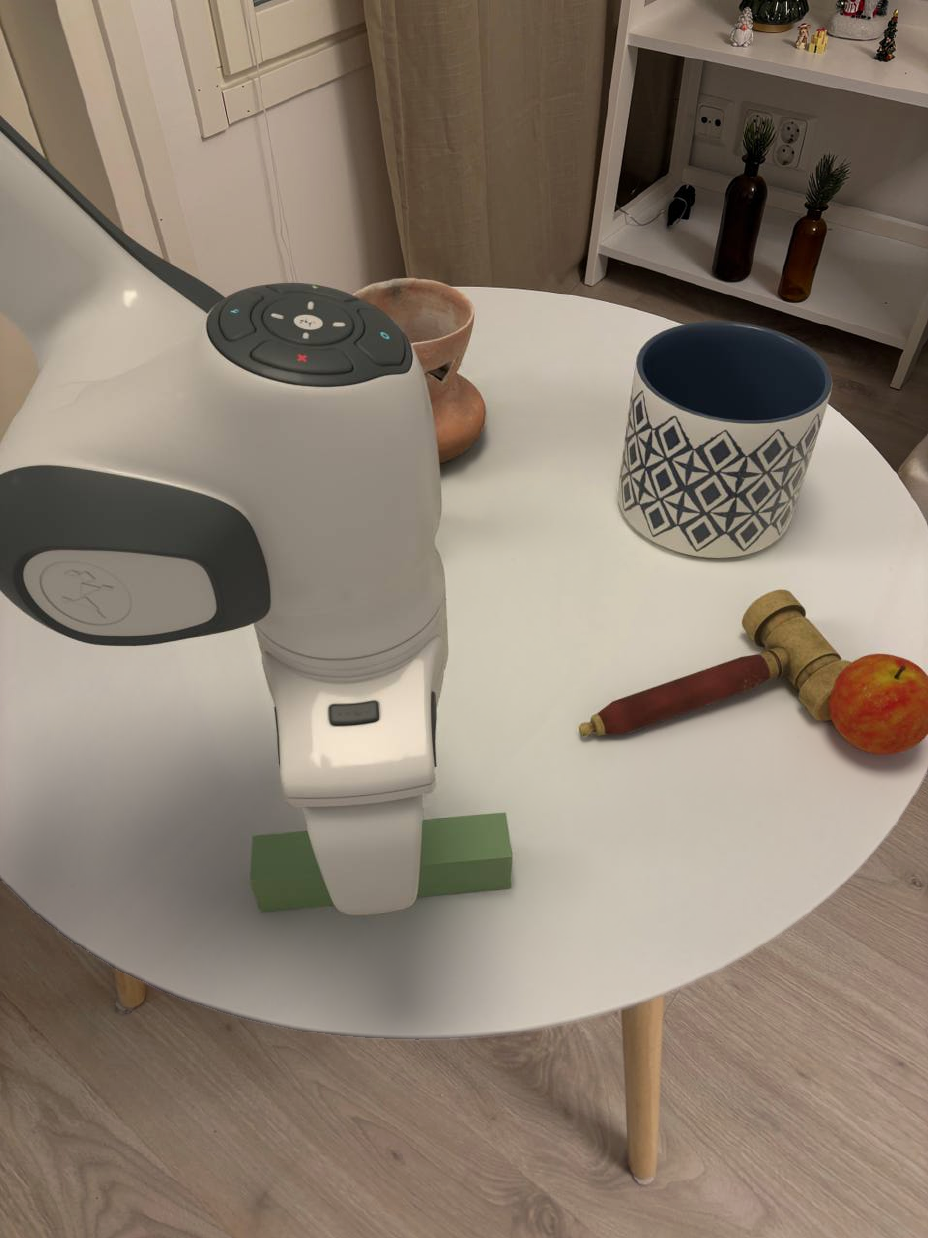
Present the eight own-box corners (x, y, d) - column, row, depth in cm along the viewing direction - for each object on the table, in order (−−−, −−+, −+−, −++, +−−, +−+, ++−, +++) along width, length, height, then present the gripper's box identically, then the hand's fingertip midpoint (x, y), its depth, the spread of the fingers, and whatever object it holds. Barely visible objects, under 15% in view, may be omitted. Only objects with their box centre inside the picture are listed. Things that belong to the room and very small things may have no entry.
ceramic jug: (493, 487, 89) (496, 353, 79) (341, 495, 89) (324, 360, 78) (477, 384, 102) (477, 257, 92) (343, 391, 101) (329, 263, 91)
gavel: (611, 767, 63) (551, 662, 70) (608, 803, 66) (551, 700, 73) (877, 671, 67) (796, 581, 73) (861, 710, 70) (786, 620, 77)
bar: (260, 912, 59) (249, 881, 56) (262, 867, 61) (252, 835, 59) (510, 888, 60) (512, 856, 57) (504, 844, 63) (505, 811, 60)
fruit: (823, 687, 72) (853, 614, 66) (918, 712, 70) (958, 639, 64) (812, 757, 67) (844, 685, 61) (915, 786, 65) (957, 715, 60)
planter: (805, 478, 90) (848, 342, 79) (769, 583, 80) (813, 443, 69) (645, 439, 94) (666, 305, 84) (593, 533, 84) (609, 394, 74)
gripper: (292, 498, 51) (324, 665, 61) (279, 822, 37) (323, 971, 47) (407, 489, 51) (420, 657, 61) (438, 807, 37) (448, 957, 47)
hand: (378, 795), depth 54 cm, fingers open, 8 cm apart
